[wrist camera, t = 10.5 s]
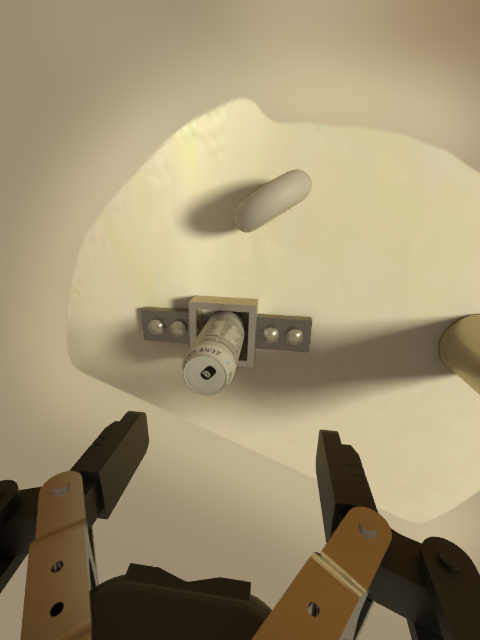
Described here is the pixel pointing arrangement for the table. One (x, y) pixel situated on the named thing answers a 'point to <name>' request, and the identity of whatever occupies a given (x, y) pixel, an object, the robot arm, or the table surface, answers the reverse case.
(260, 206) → the donut
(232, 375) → the energy drink can
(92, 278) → the table surface
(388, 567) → the robot arm
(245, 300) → the mounting bracket
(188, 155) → the table surface
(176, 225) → the table surface
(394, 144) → the table surface
